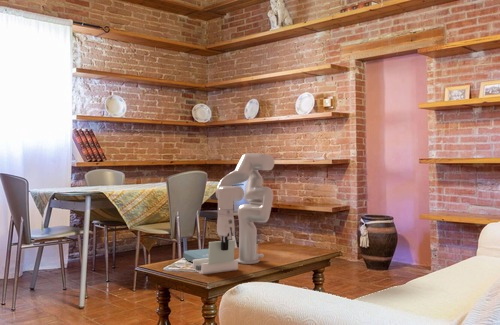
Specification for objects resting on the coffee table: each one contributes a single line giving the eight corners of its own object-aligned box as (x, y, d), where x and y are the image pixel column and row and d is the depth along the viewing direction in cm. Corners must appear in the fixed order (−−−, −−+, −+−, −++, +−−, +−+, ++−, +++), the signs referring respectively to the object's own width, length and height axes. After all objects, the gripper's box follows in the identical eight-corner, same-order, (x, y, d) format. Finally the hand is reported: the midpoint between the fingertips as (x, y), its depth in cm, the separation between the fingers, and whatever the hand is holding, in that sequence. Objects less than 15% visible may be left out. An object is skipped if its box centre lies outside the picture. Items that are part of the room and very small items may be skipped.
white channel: (227, 265, 251) (227, 255, 251) (237, 269, 242) (238, 260, 242) (192, 269, 241) (192, 259, 241) (202, 274, 231) (202, 264, 231)
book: (227, 265, 253) (227, 256, 253) (199, 268, 246) (199, 258, 246) (209, 257, 273) (210, 248, 273) (183, 259, 265) (183, 250, 265)
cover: (233, 239, 240) (234, 240, 239) (233, 260, 240) (234, 261, 239) (208, 242, 232) (209, 242, 231) (208, 263, 233) (209, 264, 232)
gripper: (240, 213, 229) (239, 252, 229) (224, 210, 241) (223, 247, 241) (226, 214, 225) (225, 253, 225) (211, 211, 237) (210, 248, 237)
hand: (224, 250), depth 233 cm, fingers closed
